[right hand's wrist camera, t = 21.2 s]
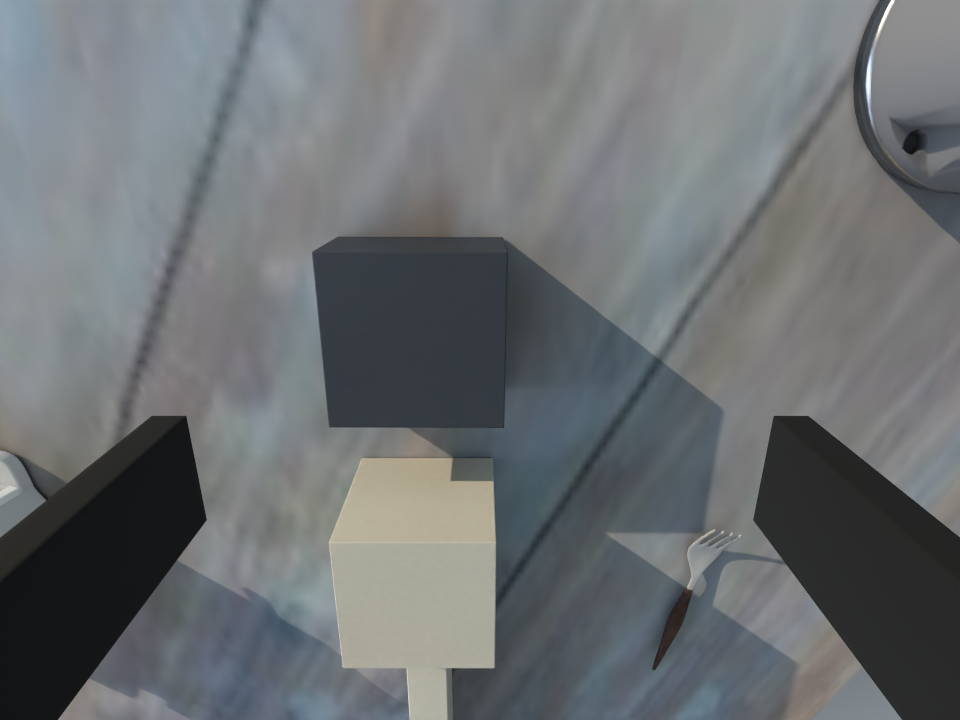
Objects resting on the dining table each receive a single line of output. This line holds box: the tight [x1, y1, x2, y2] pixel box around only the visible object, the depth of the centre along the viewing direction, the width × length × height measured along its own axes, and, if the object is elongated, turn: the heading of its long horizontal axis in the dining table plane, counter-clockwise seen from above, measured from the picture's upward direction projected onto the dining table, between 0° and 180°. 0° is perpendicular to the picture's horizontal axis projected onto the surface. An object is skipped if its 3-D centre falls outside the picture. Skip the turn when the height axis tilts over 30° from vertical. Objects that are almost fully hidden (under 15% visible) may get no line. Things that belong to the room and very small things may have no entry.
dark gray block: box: [312, 237, 507, 428], centre depth 37 cm, size 11×11×6 cm
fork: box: [653, 529, 742, 670], centre depth 46 cm, size 3×16×2 cm, turn 167°
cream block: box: [329, 458, 496, 720], centre depth 44 cm, size 10×34×10 cm, turn 0°
